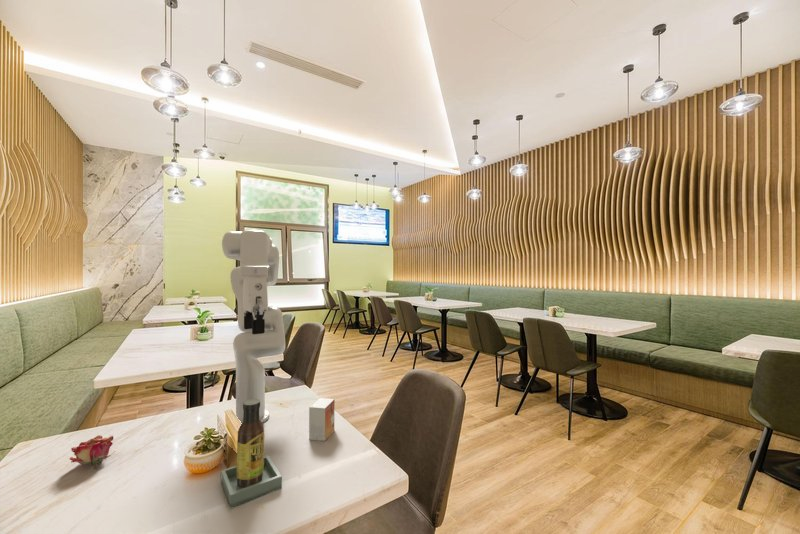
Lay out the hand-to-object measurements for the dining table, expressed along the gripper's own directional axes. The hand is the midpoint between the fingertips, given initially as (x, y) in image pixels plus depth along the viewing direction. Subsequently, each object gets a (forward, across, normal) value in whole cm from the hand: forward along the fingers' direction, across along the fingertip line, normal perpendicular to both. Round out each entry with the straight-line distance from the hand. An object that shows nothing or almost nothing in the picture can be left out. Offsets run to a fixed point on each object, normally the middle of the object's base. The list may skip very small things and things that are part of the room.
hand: (253, 331), depth 98 cm
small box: (+37, -1, -21) cm, 42 cm away
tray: (+36, -14, +4) cm, 39 cm away
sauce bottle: (+36, -13, +4) cm, 38 cm away
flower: (+37, +22, +37) cm, 57 cm away
